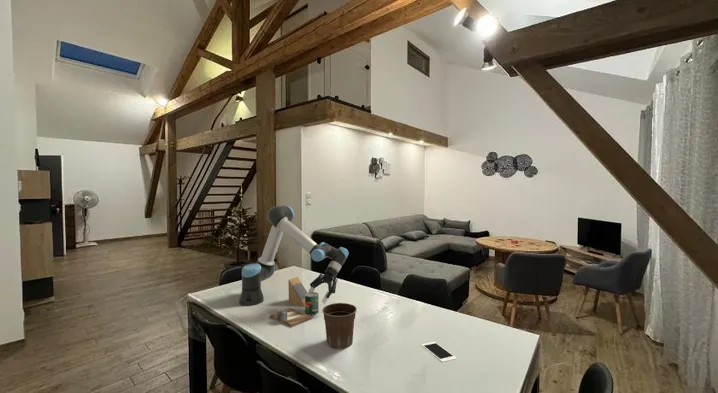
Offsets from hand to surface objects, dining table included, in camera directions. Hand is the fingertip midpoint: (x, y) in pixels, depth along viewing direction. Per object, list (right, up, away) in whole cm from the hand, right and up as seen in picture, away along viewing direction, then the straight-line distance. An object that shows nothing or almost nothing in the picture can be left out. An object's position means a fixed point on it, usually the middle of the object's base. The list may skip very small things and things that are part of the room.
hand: (315, 300), depth 184 cm
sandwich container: (-11, -7, +16) cm, 21 cm away
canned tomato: (-2, -7, -1) cm, 8 cm away
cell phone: (+61, -9, -45) cm, 77 cm away
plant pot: (+17, -8, -38) cm, 42 cm away
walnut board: (-13, -7, -9) cm, 17 cm away
